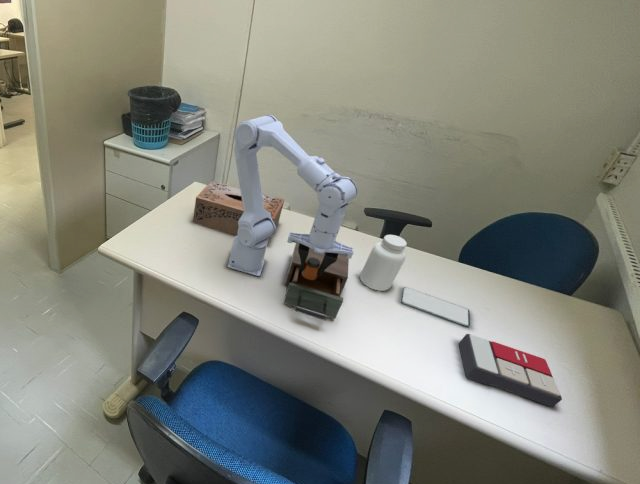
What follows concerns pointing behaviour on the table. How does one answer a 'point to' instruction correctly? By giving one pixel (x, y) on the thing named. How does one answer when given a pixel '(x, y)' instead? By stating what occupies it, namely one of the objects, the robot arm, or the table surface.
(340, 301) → the drawer
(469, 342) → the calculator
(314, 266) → the bottle
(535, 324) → the table surface
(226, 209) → the tissue box cover
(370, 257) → the pill bottle
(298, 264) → the cabinet
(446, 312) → the smartphone
